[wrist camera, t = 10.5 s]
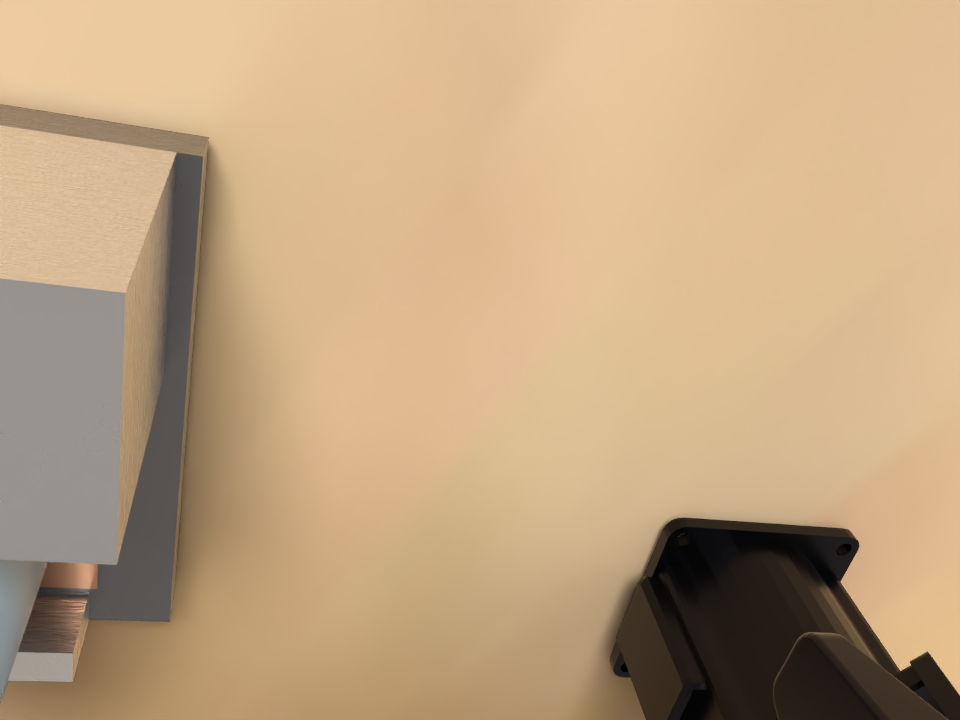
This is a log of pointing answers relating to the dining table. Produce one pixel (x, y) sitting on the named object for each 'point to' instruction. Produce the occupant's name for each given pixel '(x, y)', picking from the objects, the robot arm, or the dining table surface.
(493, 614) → the dining table surface
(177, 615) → the dining table surface
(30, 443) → the motor mount
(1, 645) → the grey round-ended capsule
